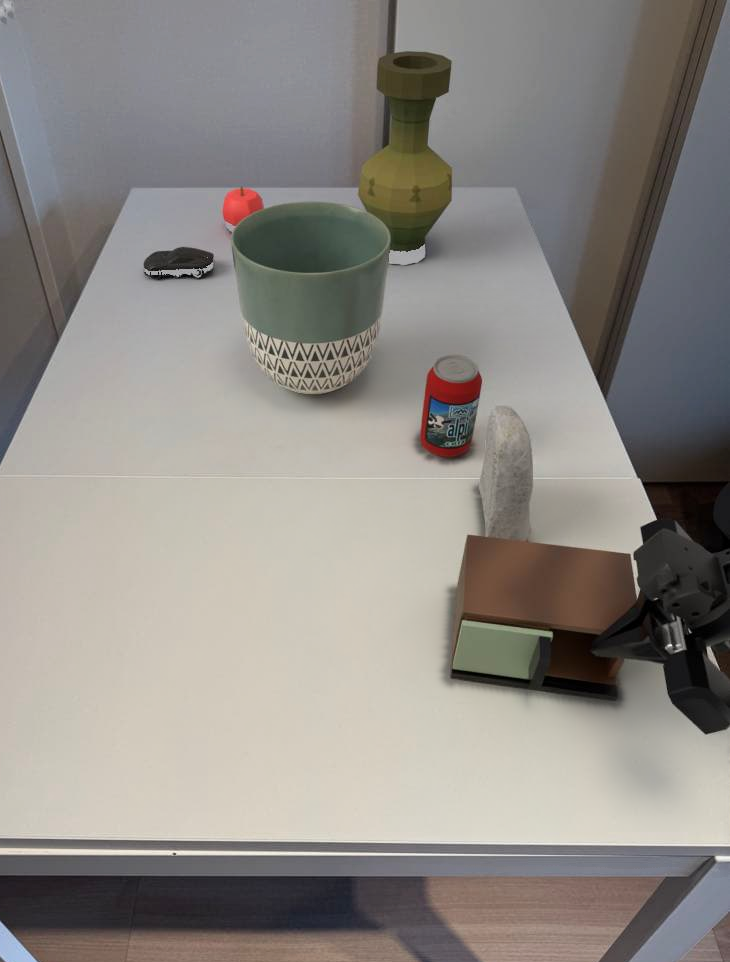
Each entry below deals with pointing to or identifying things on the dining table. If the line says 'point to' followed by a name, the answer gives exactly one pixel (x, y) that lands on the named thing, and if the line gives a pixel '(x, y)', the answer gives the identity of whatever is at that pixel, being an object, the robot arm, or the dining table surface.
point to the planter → (311, 291)
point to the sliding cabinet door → (504, 651)
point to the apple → (241, 205)
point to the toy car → (177, 260)
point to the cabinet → (547, 606)
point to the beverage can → (450, 405)
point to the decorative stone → (506, 476)
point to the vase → (408, 151)
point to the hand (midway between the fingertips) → (592, 649)
